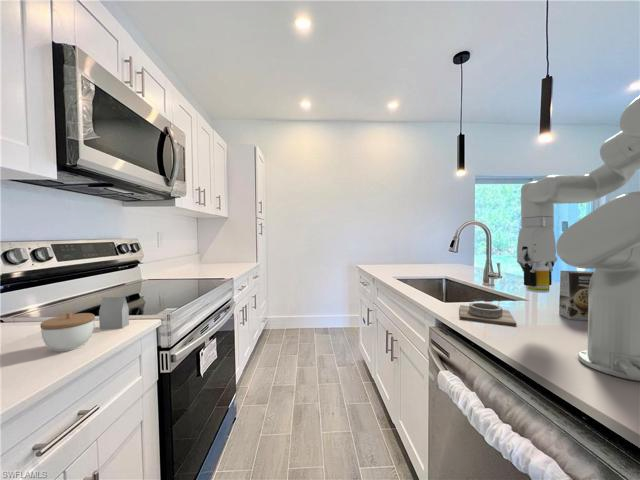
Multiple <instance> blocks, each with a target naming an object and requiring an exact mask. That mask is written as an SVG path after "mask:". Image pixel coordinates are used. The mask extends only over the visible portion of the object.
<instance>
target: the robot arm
mask: <svg viewBox="0 0 640 480" xmlns="http://www.w3.org/2000/svg"><path fill="white" fill-rule="evenodd" d="M619 128H620V130H621V131H619V132H618V133H616V134H615V135H613V136H611V137H610V138H608V139H606V140H605V141H604V142H603V143H602V144H601V146H600V148H599V156H600V158H601V160H602V162H603V163H604V164H602V165H601V166H599V167H598V168H596V169H594V170H592V171H590V172H588V173H586V174H552V175H547V176H544V177H543V178H541V179H538V180H535V181H530V182H527V183H524V184H523V185H522V186H521V188H520V218H521V220H520V224H521V225H520V226H521V228H519V232H518V238H517V247H516V262H517V263H518V265H520V267H521V270H522V272H523V285H524V286H526V285H527V286H533V287H535V286H536V285H537V282H536V273H534V272H535V267H536V263H537V262H543V261H546V264H545V266H547V267H548V268H549V286H551V285H552V278H553V277H552V272H553V270H554V268H553V267H554V266H555V263H556V262H557V261H558V258H559V259H560V260H561V261H563V262H564V263H565V264H566V265H569V266H571V267H574V268H579V269H590V270H591V269H594V271H593V272H594V273H593V275H592V277H591V279H590V283H589V300H588V320H587V349H584V350H580V351H579V352H578V353H577V355H578V356H577V358H578V360H579V361H580V362H581V363H582V364H583V365H586V366H588V367H589V368H592V369H594V370H596V371H598V372H602V373H604V374H607V375H610V376H612V377H613V376H614V377H617V378H622V379H625V380H629V381H638V382H640V191H639V190H638V191H632V192H628V193H624V194H622V195H619V196H615V197H613V198H612V199H610V200H608V201H606V202H605V203H603V204H601V205H600V206H599V207H597V208H596V209H594V210H593V211H591V212H589V213H588V214H587V215H585V216H583V217H582V218H580V219H578V221H575V222H574V223H573V224H572V225H570V226H569V227H567V228H566V229H565V230H563V232H562V233H561V235H560V236H559V238H558V239H557V243H556V238H555V231H554V228H555V218H554V217H555V215H554V213H555V211H554V210H555V209H554V208H555V204H556V205H557V204H559V205H560V204H586V203H590V202H593V201H595V200H598V199H601V198H602V197H605V196H607V195H609V194H611V193H613V192H616V191H618V190H619V189H621V188H623V187H624V186H625V185H626V184H627V183H628V182H629V181H630V180H631V178H633V177H634V175H635V174H636V172H637V171H638V170H640V95H639V96H638V97H636V98H635V99H634V100H633V101H632V102H630V103H629V104H628V105H627V106H626V107H625V108H624V110H623V111H622V113H621V116H620V118H619ZM556 253H557V254H556ZM557 256H558V257H557ZM529 260H531V261H529ZM530 264H531V267H530Z"/></svg>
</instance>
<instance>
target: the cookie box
mask: <svg viewBox="0 0 640 480" xmlns="http://www.w3.org/2000/svg"><path fill="white" fill-rule="evenodd" d="M593 273H594V271H584V270H583V271H580V270H578V271H577V270H560V274H559V277H560V278H559V300H558V301H559V303H558V304H559V305H558V308H559V309H558V314H559V315H561V316H563V317H564V318H567V319H569V320H574V321H575V320H576V321H577V320H580V321H588V300H589V283H590V279H591V277H592V275H593Z"/></svg>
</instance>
